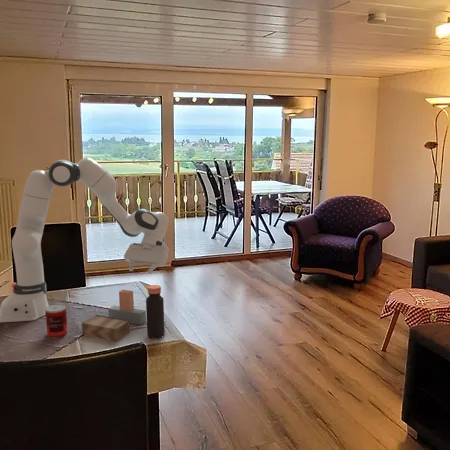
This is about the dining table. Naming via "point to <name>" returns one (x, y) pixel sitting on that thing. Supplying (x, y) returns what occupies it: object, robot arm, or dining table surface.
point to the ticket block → (105, 327)
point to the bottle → (155, 312)
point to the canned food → (56, 321)
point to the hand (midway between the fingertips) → (139, 271)
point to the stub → (127, 309)
